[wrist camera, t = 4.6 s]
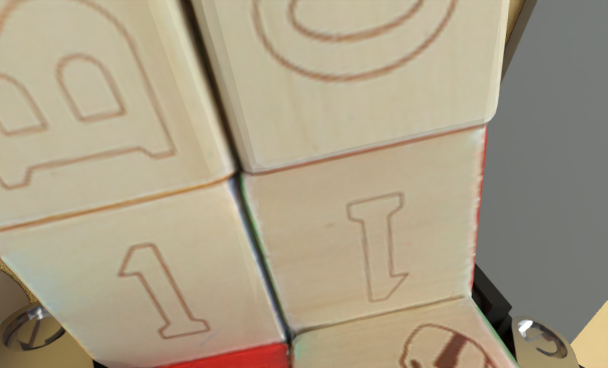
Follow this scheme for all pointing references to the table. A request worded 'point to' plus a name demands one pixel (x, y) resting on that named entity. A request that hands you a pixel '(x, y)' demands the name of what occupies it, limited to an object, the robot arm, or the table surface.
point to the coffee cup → (10, 296)
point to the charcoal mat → (550, 167)
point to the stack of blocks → (252, 178)
